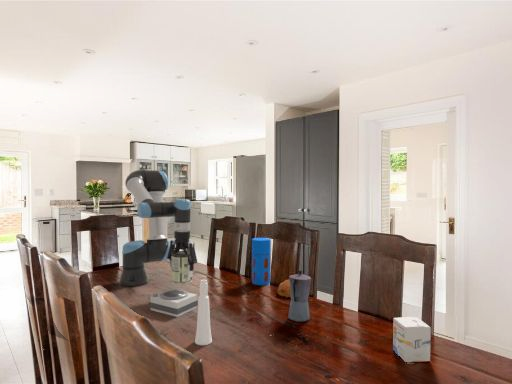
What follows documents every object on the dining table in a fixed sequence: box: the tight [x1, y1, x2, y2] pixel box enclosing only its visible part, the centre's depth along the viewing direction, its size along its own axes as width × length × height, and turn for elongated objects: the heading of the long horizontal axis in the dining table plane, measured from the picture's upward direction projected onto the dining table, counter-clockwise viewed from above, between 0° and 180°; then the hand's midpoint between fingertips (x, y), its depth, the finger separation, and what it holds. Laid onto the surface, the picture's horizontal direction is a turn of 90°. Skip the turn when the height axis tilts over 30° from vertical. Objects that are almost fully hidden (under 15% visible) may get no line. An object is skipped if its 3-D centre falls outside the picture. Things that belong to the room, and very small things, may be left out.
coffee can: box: [170, 250, 193, 285], centre depth 170 cm, size 10×10×14 cm
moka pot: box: [287, 270, 312, 322], centre depth 144 cm, size 10×15×20 cm, turn 161°
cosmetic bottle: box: [194, 278, 213, 346], centre depth 122 cm, size 6×6×22 cm
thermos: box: [251, 237, 272, 286], centre depth 197 cm, size 11×11×25 cm
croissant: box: [276, 278, 291, 299], centre depth 177 cm, size 14×16×8 cm
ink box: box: [392, 316, 432, 362], centre depth 112 cm, size 9×8×12 cm
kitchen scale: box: [149, 288, 198, 318], centre depth 155 cm, size 16×13×7 cm
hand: (181, 275), depth 170 cm, fingers closed on coffee can, 10 cm apart
